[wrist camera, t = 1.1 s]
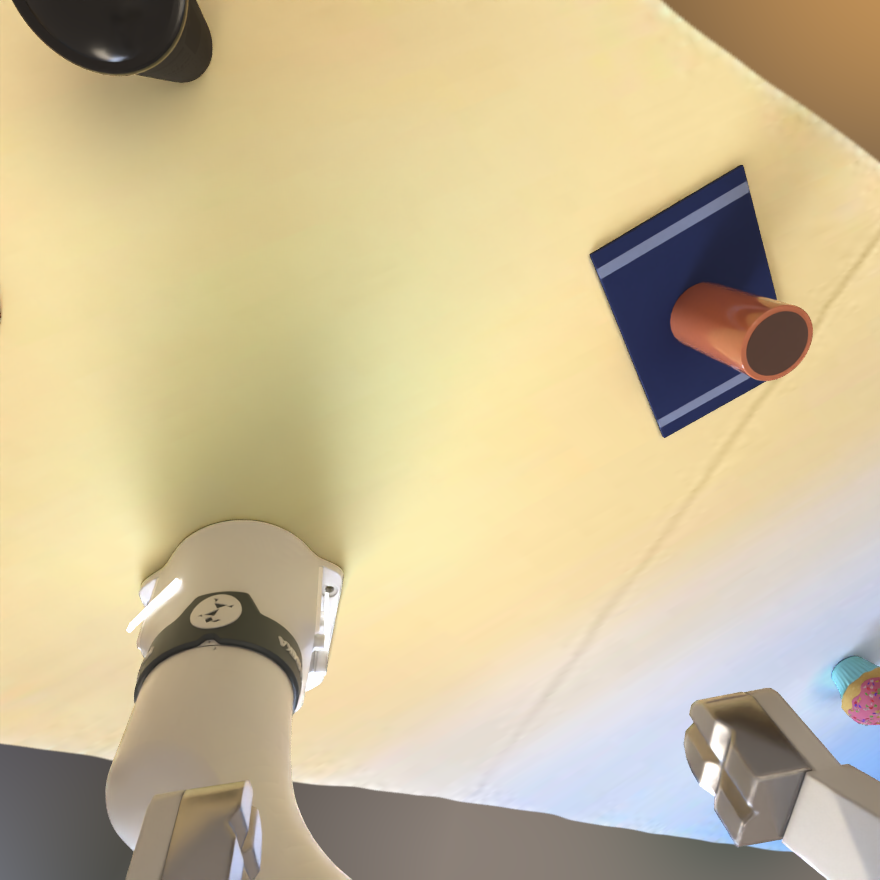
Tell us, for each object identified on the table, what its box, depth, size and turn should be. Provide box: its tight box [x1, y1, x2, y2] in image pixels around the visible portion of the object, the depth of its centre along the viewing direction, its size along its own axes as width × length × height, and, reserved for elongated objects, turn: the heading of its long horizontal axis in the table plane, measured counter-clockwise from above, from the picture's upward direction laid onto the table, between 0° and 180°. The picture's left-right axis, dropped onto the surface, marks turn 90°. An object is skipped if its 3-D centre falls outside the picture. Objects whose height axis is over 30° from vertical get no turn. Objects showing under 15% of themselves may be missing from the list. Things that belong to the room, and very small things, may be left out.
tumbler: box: [670, 282, 813, 381], centre depth 47 cm, size 6×6×10 cm
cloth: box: [590, 165, 777, 438], centre depth 51 cm, size 20×14×1 cm
